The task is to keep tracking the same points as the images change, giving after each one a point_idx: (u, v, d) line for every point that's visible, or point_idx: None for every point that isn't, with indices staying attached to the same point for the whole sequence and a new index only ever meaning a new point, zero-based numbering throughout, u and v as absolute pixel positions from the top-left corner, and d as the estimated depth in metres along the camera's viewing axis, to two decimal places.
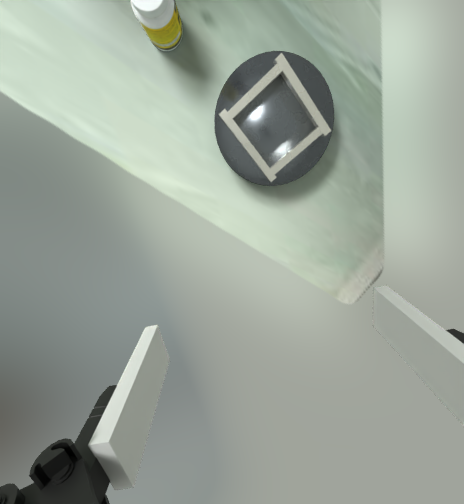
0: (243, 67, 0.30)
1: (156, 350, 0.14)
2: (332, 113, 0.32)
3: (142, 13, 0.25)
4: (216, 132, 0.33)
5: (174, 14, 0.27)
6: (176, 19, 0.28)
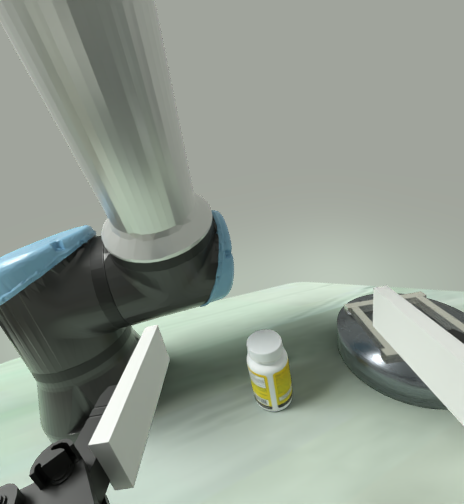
0: (343, 331, 0.32)
1: (156, 350, 0.14)
2: (402, 294, 0.37)
3: (276, 354, 0.26)
4: (407, 374, 0.25)
5: None
6: None
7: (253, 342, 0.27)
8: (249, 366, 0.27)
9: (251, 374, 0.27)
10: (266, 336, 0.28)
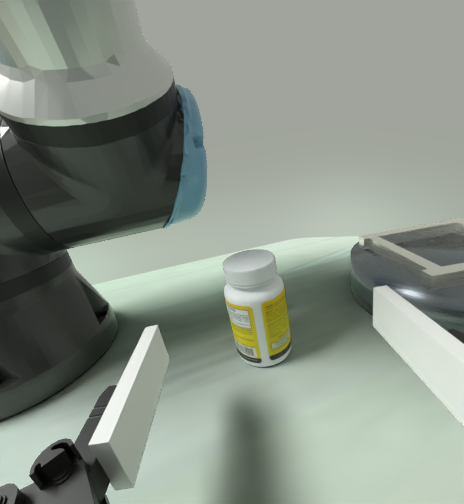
0: (360, 264, 0.23)
1: (156, 350, 0.14)
2: None
3: (265, 273, 0.17)
4: None
5: None
6: None
7: (232, 262, 0.18)
8: (227, 297, 0.18)
9: (230, 310, 0.18)
10: (252, 255, 0.19)
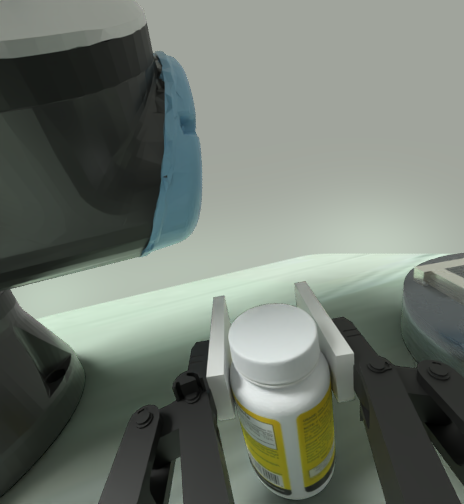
0: (427, 313, 0.16)
1: (226, 316, 0.15)
2: None
3: (305, 364, 0.09)
4: None
5: None
6: None
7: (244, 331, 0.11)
8: (235, 392, 0.11)
9: (240, 411, 0.11)
10: (277, 317, 0.12)
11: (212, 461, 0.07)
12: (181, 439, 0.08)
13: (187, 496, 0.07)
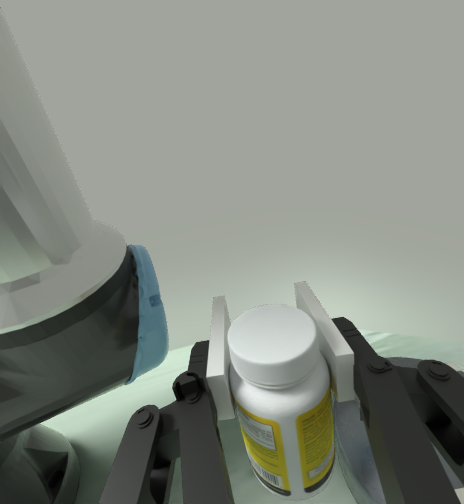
0: (343, 436, 0.21)
1: (226, 316, 0.15)
2: None
3: (304, 365, 0.09)
4: None
5: None
6: None
7: (243, 332, 0.11)
8: (234, 392, 0.11)
9: (239, 412, 0.11)
10: (276, 317, 0.12)
11: (212, 461, 0.07)
12: (181, 439, 0.08)
13: (187, 496, 0.07)
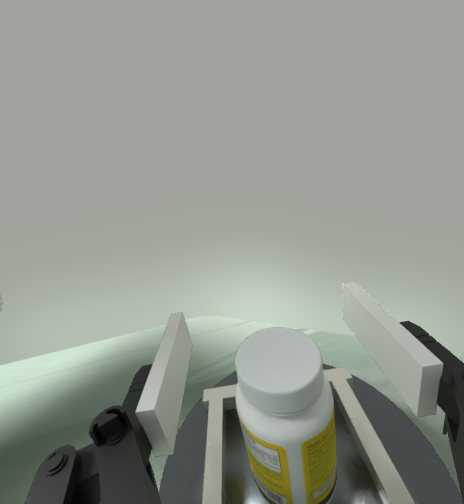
0: (171, 465, 0.15)
1: (182, 335, 0.15)
2: None
3: (311, 394, 0.10)
4: None
5: None
6: None
7: (251, 357, 0.11)
8: (241, 416, 0.11)
9: (246, 435, 0.11)
10: (282, 342, 0.12)
11: (139, 502, 0.07)
12: (102, 489, 0.07)
13: None
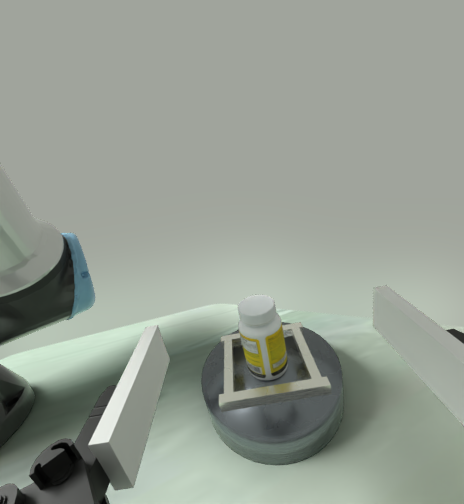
0: (206, 369, 0.30)
1: (156, 350, 0.14)
2: (288, 323, 0.35)
3: (268, 316, 0.24)
4: (233, 425, 0.23)
5: None
6: None
7: (244, 306, 0.26)
8: (241, 331, 0.26)
9: (243, 340, 0.26)
10: (259, 300, 0.26)
11: None
12: None
13: None
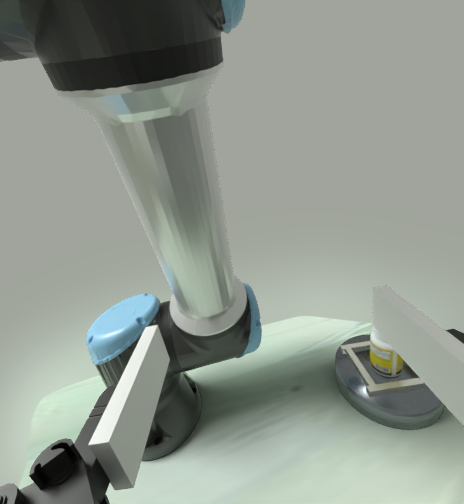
0: (339, 369, 0.43)
1: (156, 350, 0.14)
2: None
3: None
4: (383, 405, 0.36)
5: None
6: None
7: None
8: (377, 345, 0.39)
9: (378, 350, 0.39)
10: None
11: None
12: None
13: None
